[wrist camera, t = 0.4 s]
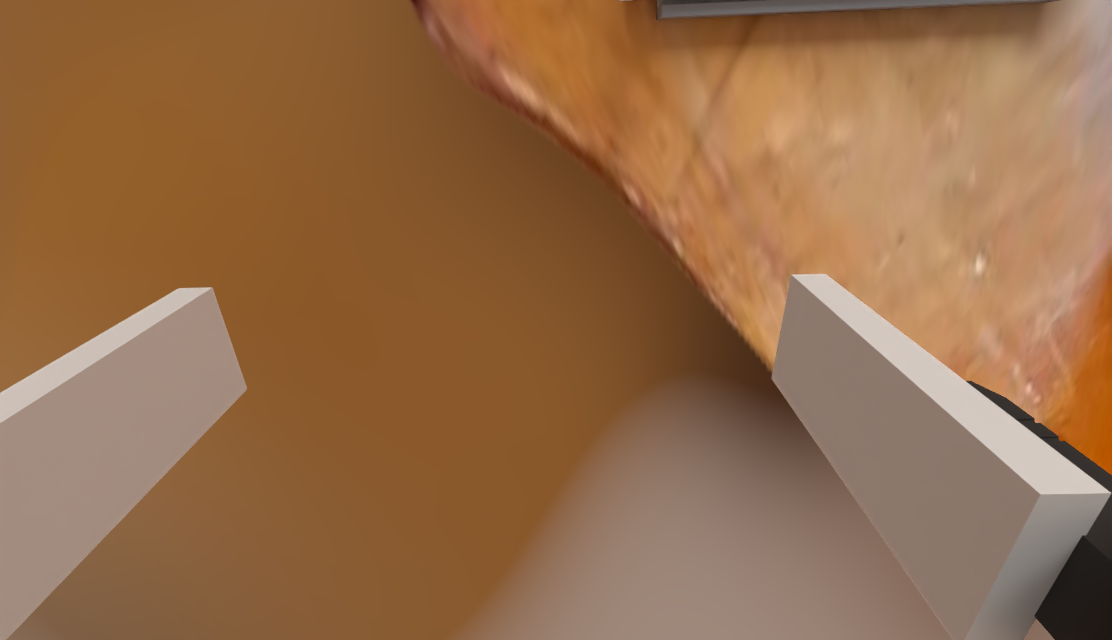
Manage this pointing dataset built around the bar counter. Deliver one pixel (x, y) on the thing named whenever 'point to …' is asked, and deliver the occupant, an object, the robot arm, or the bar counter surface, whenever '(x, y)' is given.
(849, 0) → the lane board
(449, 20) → the bar counter surface
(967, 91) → the bar counter surface
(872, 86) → the bar counter surface
